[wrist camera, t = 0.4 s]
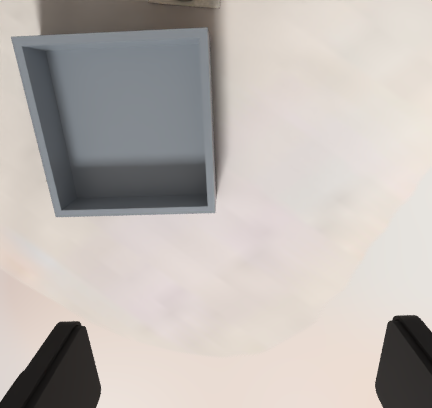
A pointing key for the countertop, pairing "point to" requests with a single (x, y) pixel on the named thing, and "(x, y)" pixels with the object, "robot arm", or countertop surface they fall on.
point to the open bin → (123, 120)
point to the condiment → (190, 3)
